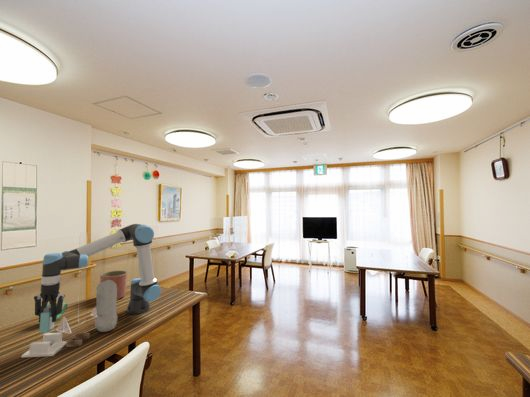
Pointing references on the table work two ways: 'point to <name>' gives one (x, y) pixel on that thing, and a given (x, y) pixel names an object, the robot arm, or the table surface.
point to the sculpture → (106, 306)
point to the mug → (62, 309)
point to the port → (46, 346)
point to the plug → (45, 320)
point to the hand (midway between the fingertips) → (47, 328)
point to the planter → (116, 281)
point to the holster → (77, 336)
